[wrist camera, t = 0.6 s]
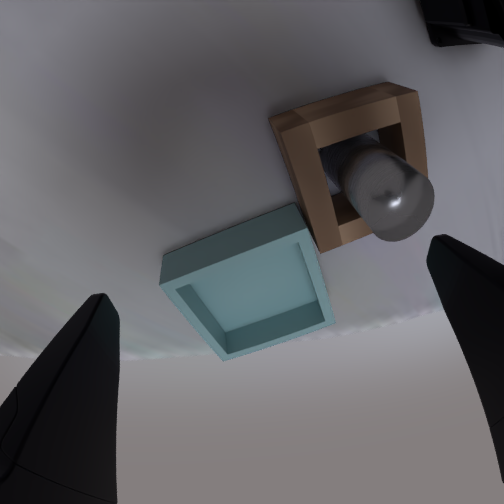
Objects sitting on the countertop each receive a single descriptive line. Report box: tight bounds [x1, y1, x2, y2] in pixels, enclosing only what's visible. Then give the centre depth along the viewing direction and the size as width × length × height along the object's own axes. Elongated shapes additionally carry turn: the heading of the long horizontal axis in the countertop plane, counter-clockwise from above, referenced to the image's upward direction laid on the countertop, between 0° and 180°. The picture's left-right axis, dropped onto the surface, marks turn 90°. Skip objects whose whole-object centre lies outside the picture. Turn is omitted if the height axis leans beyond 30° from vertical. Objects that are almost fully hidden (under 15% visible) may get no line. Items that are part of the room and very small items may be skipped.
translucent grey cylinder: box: [320, 133, 434, 242], centre depth 17 cm, size 4×4×8 cm
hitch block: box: [268, 82, 428, 254], centre depth 19 cm, size 9×9×4 cm
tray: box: [159, 203, 336, 361], centre depth 24 cm, size 10×10×3 cm
